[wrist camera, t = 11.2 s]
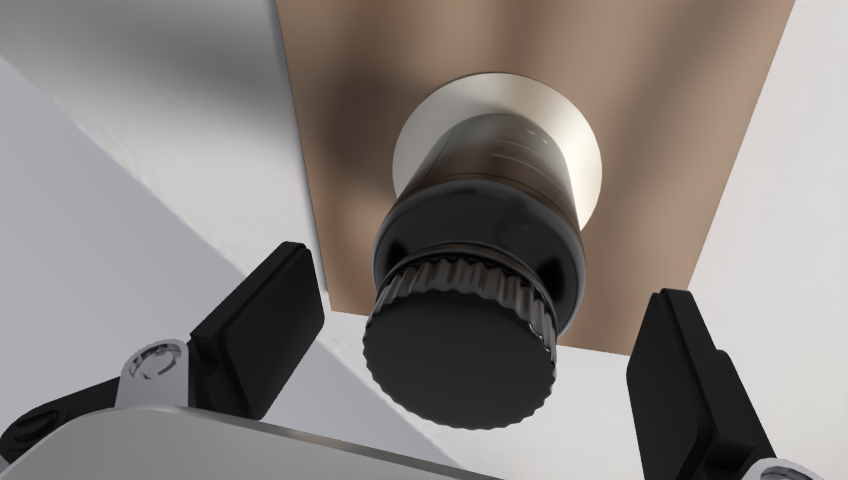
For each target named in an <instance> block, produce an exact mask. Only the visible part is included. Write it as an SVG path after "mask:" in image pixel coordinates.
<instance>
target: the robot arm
mask: <svg viewBox="0 0 848 480" xmlns="http://www.w3.org/2000/svg"><path fill="white" fill-rule="evenodd" d="M324 319H325V317H324V311H323V306H322V302H321V297H320V292H319V287H318V282H317V278H316V273H315V268H314V263H313V259H312V254H311V251H310V250H309V249H307V248H306V246H305V244H303V243H296V242H288V241H285V242H283V243H281V244H280V245H279V246H278V247H277V248H276V249H275V250H274V251H273V252H272V253H271V254H270V255H269V256H268V257H267V258H266V259H265V260H264V261H263V262H262V263H261V264H260V265H259V266H258V267H257V268H256V269H255V270H254V271H253V272H252V273H251V274H250V275H249V276H248V277H247V278H246V279H245V280H244V281H243V282H242V283H241V284H240V285H239V286H238V287H237V288H236V289H235V290H234V291H233V292H232V293H231V294H230V295H229V296H228V297H227V298H226V299H225V300H224V301H222V302H221V304H219V305H218V306H217V307H216V308H215V309H214V310H213V311H212V312H211V313H210V314H209V315H208V316H207V317H206V318H205V319H204V320H203V321H202V322H201V323H200V324H199V325H198V326H197V327H196V328H195V329H194V330H193V331H192V332H191V333H190V336H191V338H192V339H191V340H190V341H189V342H188V343H187V344H185V343H184V342H183V341H180V340H177V339H166V340H162V341H157V342H154V343H152V344H149V345H147V346H146V347H144V348H142V349H140V350H138V351H137V352H136V353H135V354H133V355H132V356H131V357H130V358H129V359H128V360H127V362H126V363H125V364H124V366H123V369H122V371H121V376H119V377H117V378H114V379H111V380H108V381H106V382H103V383H100V384H98V385H95V386H92V387H89V388H86V389H84V390H81V391H79V392H75V393H73V394H70V395H67V396H65V397H62V398H59V399H57V400H54V401H51V402H48V403H45V404H43V405H41V406H39V407H36V408H34V409H32V410H30V411H29V412H28V413H26V414H24V415H22V416H21V417H20V418H18V419H17V420H16V421H15V422H14V423H12V424H11V425H10V426H9V428H7V430H6V431H5V432H4V433H3V434H2V436H1V438H0V480H503V479H499V478H495V477H491V476H487V475H482V474H478V473H474V472H470V471H466V470H462V469H458V468H454V467H449V466H445V465H441V464H437V463H433V462H429V461H424V460H420V459H416V458H412V457H408V456H404V455H399V454H396V453H391V452H387V451H383V450H379V449H374V448H370V447H366V446H362V445H358V444H353V443H349V442H345V441H341V440H337V439H332V438H328V437H324V436H319V435H315V434H311V433H306V432H302V431H298V430H293V429H289V428H285V427H281V426H276V425H272V424H268V423H264V422H259V421H258V420H261V419H262V418H263V417H264V416H265V414H266V413H267V411H268V410H269V408H270V407H271V405H272V404H273V402H274V400H275V399H276V398H277V396H278V394H279V393H280V391H281V390H282V388H283V387H284V385H285V384H286V382H287V381H288V379H289V378H290V376H291V375H292V373H293V372H294V370H295V368H296V367H297V365H298V364H299V362H300V361H301V359H302V358H303V356H304V355H305V353H306V352H307V350H308V349H309V347H310V345H311V344H312V343H313V341H314V340H315V338H316V336H317V335H318V333H319V332H320V330H321V329H322V327H323V324H324ZM626 380H627V386H628V391H629V397H630V402H631V407H632V413H633V418H634V424H635V429H636V435H637V440H638V445H639V451H640V456H641V462H642V467H643V473H644V478H645V480H824V479H822V478H821V477H820V476H818V475H817V474H816V473H814V472H812V471H810V470H808V469H807V468H805V467H803V466H801V465H799V464H796V463H793V462H790V461H788V460H785V459H777V457H776V455H775V453H774V450H773V448H772V446H771V444H770V442H769V440H768V438H767V435H766V433H765V431H764V429H763V427H762V425H761V423H760V420H759V418H758V416H757V414H756V412H755V410H754V408H753V406H752V403H751V401H750V399H749V397H748V395H747V393H746V391H745V388H744V386H743V384H742V382H741V380H740V378H739V376H738V373H737V371H736V369H735V367H734V365H733V363H732V361H731V359H730V357H729V355H728V354H727V353H726V352H725V351H723V350H717V349H716V348H715V345H714V343H713V341H712V339H711V336H710V334H709V332H708V329H707V327H706V325H705V323H704V320H703V318H702V316H701V314H700V311H699V309H698V307H697V305H696V302H695V300H694V298H693V295H692V294H691V292H690V291H686V290H678V289H670V288H662V289H661V291H660V293H655V292H654V293H652V295H651V297H650V300H649V303H648V306H647V309H646V312H645V315H644V318H643V321H642V324H641V327H640V330H639V333H638V336H637V339H636V342H635V345H634V348H633V351H632V354H631V357H630V360H629V363H628V366H627V371H626Z"/></svg>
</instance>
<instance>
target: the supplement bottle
mask: <svg viewBox="0 0 848 480" xmlns="http://www.w3.org/2000/svg"><path fill="white" fill-rule="evenodd" d="M371 267H372V277H373V282H374V287H375V290H376V293H377V298H376V303H375V306H374V308H373V310H372V312H371V314H370V316H369V318H368V320H367V323H366V327H365V328H366V331H365V333H364V335H363V340H362V341H363V344H364V350H363V355H364V357H365V358H366V360H367V363H366V366H367V368H368V369H369V370H370V372H371V373H372V377H373V380H374V381H376V382H377V383H378V384H379V385H380V387H381V389H382V391H383V392H385V393H386V394H388V395H389V396H390V397H391V398H392V400H393V401H394V402H396V403H397V404H400V405H402V406H403V407H404V408H405V409H406V410H407V411H409V412H412V413H414V414H416V415H418V416H419V417H421V418H422V419H426V420H431V421H432V422H434V423H436V424H438V425H447V426H450V427H452V428H464V429H468V430H476V429H484V430H490V429H493V428H505V427H507V426H508V425H510V424H514V423H520V422H521V421H522V420H523V418H526V417H529V416H532V415H533V414H534V412H535V410H536V409H538V408H540V407H542V406H543V405H544V401H545V399H546V398H547V397H548V396H549V395H551V392H552V385H553V383H554V382H555V380H556V361H557V357H556V343H557V339H558V338H560V337H561V336H562V335H563V334H564V332H565V331H566V330H567V329H568V328H569V326H570V325H571V324H572V322H573V321H574V319H575V317H576V316H577V314H578V312H579V310H580V308H581V305H582V302H583V299H584V295H585V291H586V283H587V270H586V260H585V253H584V247H583V242H582V237H581V232H580V227H579V221H578V216H577V211H576V206H575V201H574V195H573V190H572V185H571V180H570V175H569V171H568V167H567V163H566V161H565V158H564V156H563V154H562V152H561V150H560V148H559V147H558V145H557V143H556V142H555V141H554V140H553V138H552V137H551V136H550V135H549V134H548V133H547V132H546V131H544V130H543V129H542V128H541V127H539V126H538V125H536V124H534V123H533V122H531V121H529V120H526V119H524V118H521V117H518V116H514V115H509V114H501V113H490V114H482V115H478V116H474V117H471V118H468V119H466V120H464V121H461V122H459V123H458V124H456V125H454V126H453V127H452V128H450V129H449V130H448V131H447V132H446V133H444V134H443V135H442V136H441V137H440V138H439V140H438V141H437V142H436V143H435V145H434V146H433V147H432V149H431V150H430V151H429V153H428V154H427V156H426V157H425V159H424V160H423V162H422V163H421V165H420V166H419V168H418V169H417V171H416V172H415V174H414V175H413V177H412V178H411V180H410V181H409V182H408V184H407V185H406V187H405V188H404V190H403V191H402V193H401V194H400V196H399V197H398V199H397V200H396V202H395V203H394V205H393V206H392V208H391V209H390V211H389V212H388V214H387V215H386V217H385V219H384V221H383V222H382V224H381V226H380V228H379V230H378V233H377V235H376V238H375V241H374V245H373V250H372V259H371Z"/></svg>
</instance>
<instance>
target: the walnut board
mask: <svg viewBox="0 0 848 480" xmlns="http://www.w3.org/2000/svg"><path fill="white" fill-rule="evenodd" d="M794 3H795V0H276V5H277V10H278V16H279V21H280V27H281V33H282V38H283V44H284V49H285V55H286V60H287V66H288V72H289V77H290V83H291V88H292V94H293V99H294V105H295V111H296V116H297V122H298V127H299V133H300V138H301V144H302V150H303V155H304V161H305V166H306V172H307V177H308V183H309V188H310V194H311V200H312V205H313V211H314V216H315V222H316V227H317V233H318V239H319V244H320V250H321V255H322V261H323V266H324V272H325V278H326V283H327V289H328V294H329V300H330V305H331V311H337V312H344V313H351V314H357V315H364V316H370V314H371V312H372V310H373V308H374V306H375V303H376V298H377V293H376V290H375V287H374V282H373V277H372V267H371V259H372V250H373V245H374V241H375V238H376V235H377V233H378V230H379V228H380V226H381V224H382V222H383V221H384V219H385V217H386V215H387V214H388V212H389V211H390V209H391V208H392V206H393V205H394V203H395V202H396V200H397V199H398V197H399V196H400V194H401V193H402V191H403V190H404V188H405V187H406V185H407V184H408V182H409V181H410V180H411V178H412V177H413V175H414V174H415V172H416V171H417V169H418V168H419V166H420V165H421V163H422V162H423V160H424V159H425V157H426V156H427V154H428V153H429V151H430V150H431V149H432V147H433V146H434V145H435V143H436V142H437V141H438V140H439V138H440V137H441V136H442V135H443V134H444V133H446V132H447V131H448V130H449V129H450V128H452V127H453V126H454V125H456V124H458V123H459V122H461V121H464V120H466V119H468V118H471V117H474V116H478V115H482V114H490V113H501V114H509V115H514V116H518V117H521V118H524V119H526V120H529V121H531V122H533V123H534V124H536V125H538V126H539V127H541V128H542V129H543V130H544V131H546V132H547V133H548V134H549V135H550V136H551V137H552V138H553V140H554V141H555V142H556V143H557V145H558V147H559V148H560V150H561V152H562V154H563V156H564V158H565V161H566V163H567V167H568V171H569V175H570V180H571V185H572V190H573V195H574V201H575V206H576V211H577V216H578V221H579V227H580V232H581V237H582V242H583V247H584V253H585V260H586V270H587V283H586V291H585V295H584V299H583V302H582V305H581V308H580V310H579V312H578V314H577V316H576V317H575V319H574V321H573V322H572V324H571V325H570V326H569V328H568V329H567V330H566V331H565V332H564V334H563V335H562V336H561V337H560V338H558V339H557V343H556V345H562V346H569V347H575V348H582V349H589V350H595V351H602V352H608V353H615V354H622V355H628V356H631V354H632V351H633V348H634V345H635V342H636V339H637V336H638V333H639V330H640V327H641V324H642V321H643V318H644V315H645V312H646V309H647V306H648V303H649V300H650V297H651V295H652V293H654V292H655V293H660V291H661V289H662V288H670V289H678V290H686V291H687V288H688V285H689V283H690V280H691V277H692V275H693V272H694V269H695V267H696V264H697V261H698V259H699V256H700V253H701V251H702V248H703V245H704V243H705V240H706V237H707V235H708V232H709V229H710V227H711V224H712V221H713V219H714V216H715V213H716V211H717V208H718V205H719V203H720V200H721V197H722V195H723V192H724V189H725V187H726V184H727V181H728V179H729V176H730V173H731V171H732V168H733V165H734V163H735V160H736V157H737V155H738V152H739V149H740V147H741V144H742V141H743V139H744V136H745V133H746V131H747V128H748V125H749V123H750V120H751V117H752V115H753V112H754V109H755V107H756V104H757V101H758V99H759V96H760V93H761V91H762V88H763V85H764V83H765V80H766V77H767V75H768V72H769V69H770V67H771V64H772V61H773V59H774V56H775V53H776V51H777V48H778V45H779V43H780V40H781V37H782V35H783V32H784V29H785V27H786V24H787V21H788V19H789V16H790V13H791V11H792V8H793V5H794Z"/></svg>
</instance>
